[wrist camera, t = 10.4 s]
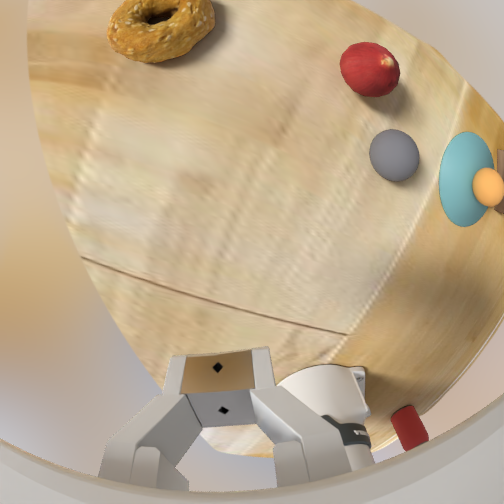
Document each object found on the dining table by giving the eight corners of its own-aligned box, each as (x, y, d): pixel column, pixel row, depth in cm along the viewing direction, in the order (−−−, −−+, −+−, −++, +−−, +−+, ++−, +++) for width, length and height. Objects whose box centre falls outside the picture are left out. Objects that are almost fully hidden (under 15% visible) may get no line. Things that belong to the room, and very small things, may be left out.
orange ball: (511, 203, 24) (500, 206, 22) (484, 206, 29) (470, 210, 28) (504, 165, 23) (491, 163, 22) (477, 171, 29) (462, 171, 28)
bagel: (213, 62, 22) (208, 47, 17) (112, 73, 21) (92, 64, 17) (219, -10, 18) (217, -32, 14) (124, 3, 17) (108, -13, 13)
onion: (373, 55, 22) (412, 38, 14) (380, 101, 24) (423, 96, 17) (325, 50, 22) (356, 26, 14) (333, 99, 24) (368, 88, 17)
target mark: (497, 204, 30) (498, 205, 29) (447, 241, 32) (448, 242, 31) (483, 122, 24) (484, 122, 24) (428, 148, 26) (429, 148, 26)
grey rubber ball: (410, 143, 19) (374, 183, 23) (437, 163, 22) (405, 197, 26) (380, 111, 22) (351, 149, 26) (410, 132, 24) (382, 164, 28)
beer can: (385, 420, 50) (401, 457, 39) (403, 403, 48) (422, 441, 37) (399, 420, 52) (415, 454, 41) (417, 404, 50) (436, 439, 39)
